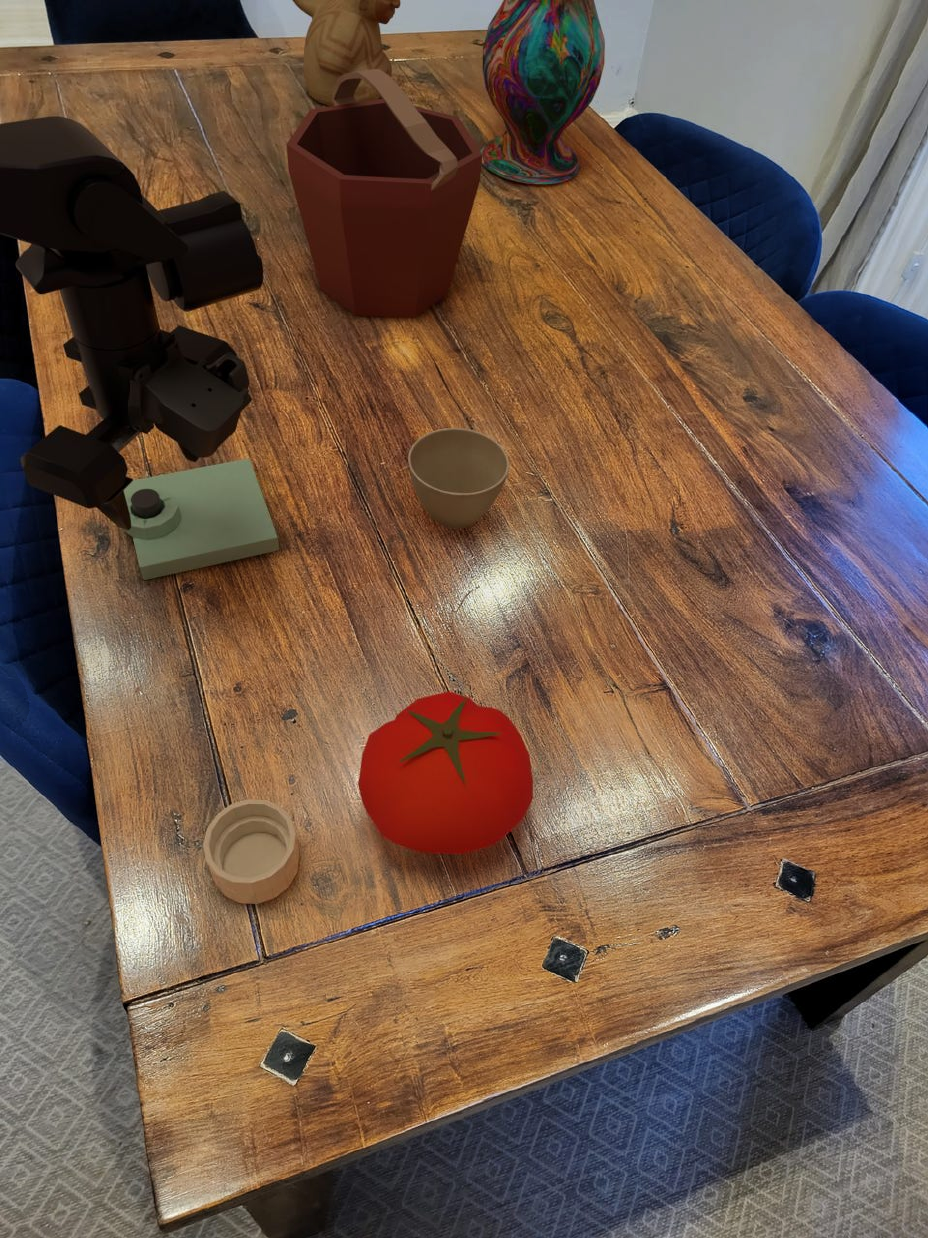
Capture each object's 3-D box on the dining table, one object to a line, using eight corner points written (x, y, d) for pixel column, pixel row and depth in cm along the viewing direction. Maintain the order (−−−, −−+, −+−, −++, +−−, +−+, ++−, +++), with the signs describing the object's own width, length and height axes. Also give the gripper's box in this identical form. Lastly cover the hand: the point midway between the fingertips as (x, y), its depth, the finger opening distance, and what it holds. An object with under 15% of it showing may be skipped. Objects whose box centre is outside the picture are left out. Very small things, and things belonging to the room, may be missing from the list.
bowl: (223, 918, 64) (213, 895, 60) (205, 840, 67) (195, 814, 64) (309, 889, 65) (305, 865, 62) (287, 815, 69) (282, 788, 66)
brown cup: (516, 534, 90) (525, 482, 85) (425, 555, 87) (428, 503, 82) (480, 471, 96) (486, 418, 90) (393, 489, 93) (394, 436, 87)
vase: (586, 145, 149) (624, -73, 126) (584, 196, 138) (626, -34, 114) (479, 132, 149) (498, -89, 126) (468, 181, 138) (486, -51, 114)
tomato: (508, 731, 75) (523, 659, 67) (537, 868, 68) (559, 806, 60) (352, 746, 73) (349, 674, 65) (365, 889, 66) (363, 827, 58)
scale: (135, 582, 82) (127, 557, 80) (117, 497, 89) (109, 471, 86) (279, 550, 86) (276, 525, 84) (251, 471, 93) (247, 445, 90)
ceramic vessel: (385, 123, 148) (386, -57, 129) (275, 103, 150) (259, -78, 131) (411, 86, 159) (416, -86, 139) (309, 68, 161) (299, -105, 141)
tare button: (136, 521, 83) (132, 509, 82) (132, 503, 84) (128, 491, 83) (164, 516, 84) (161, 504, 83) (159, 497, 85) (156, 486, 84)
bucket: (486, 329, 113) (508, 123, 93) (315, 347, 108) (301, 132, 88) (436, 233, 127) (446, 36, 107) (283, 244, 122) (265, 40, 102)
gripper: (129, 441, 53) (175, 604, 65) (288, 295, 64) (302, 457, 77) (-19, 385, 55) (53, 553, 68) (160, 253, 67) (193, 418, 79)
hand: (159, 492), depth 73 cm, fingers open, 9 cm apart
